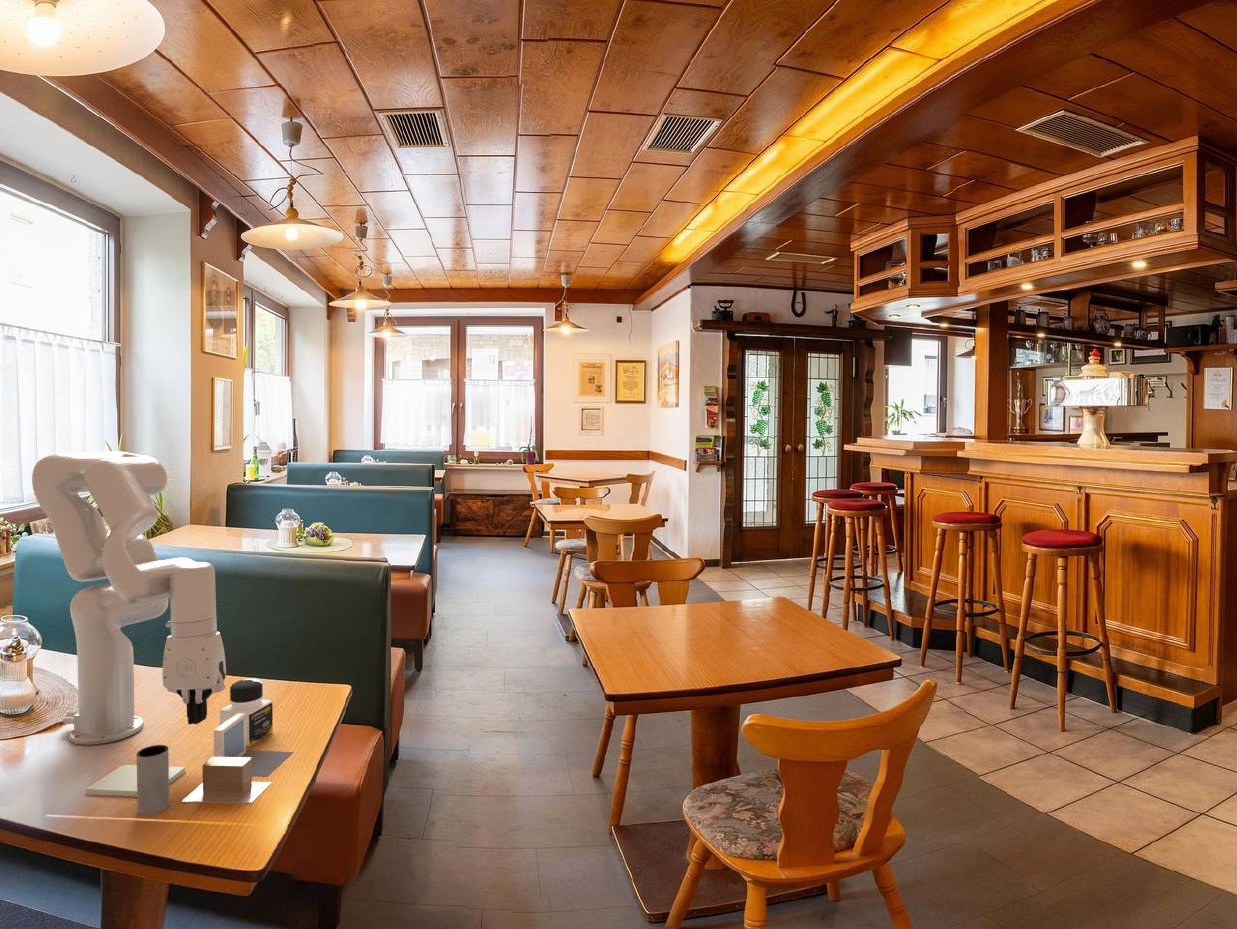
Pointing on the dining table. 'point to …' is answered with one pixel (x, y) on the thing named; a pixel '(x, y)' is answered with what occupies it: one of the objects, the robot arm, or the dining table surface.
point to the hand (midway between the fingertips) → (197, 721)
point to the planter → (152, 779)
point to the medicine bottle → (250, 709)
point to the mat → (265, 761)
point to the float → (227, 782)
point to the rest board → (125, 781)
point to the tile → (231, 737)
